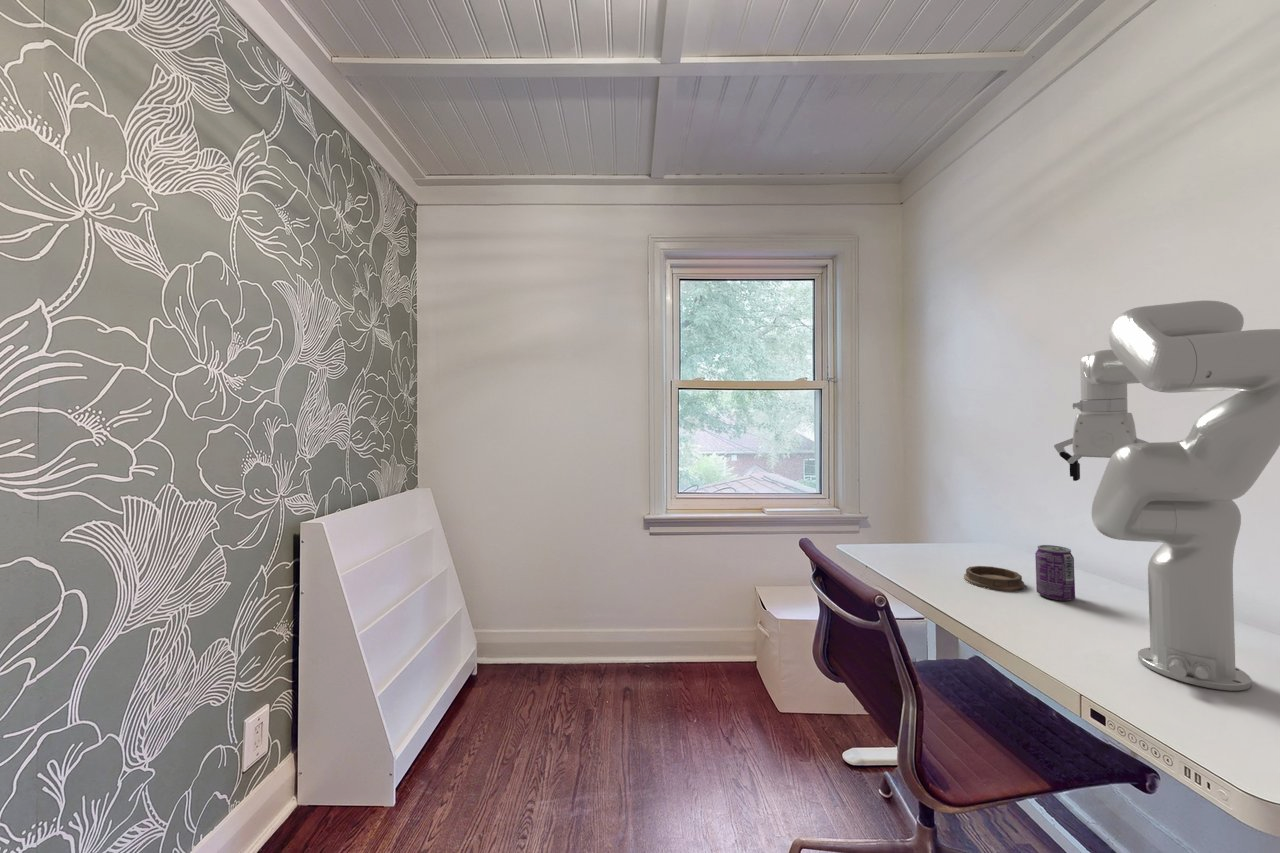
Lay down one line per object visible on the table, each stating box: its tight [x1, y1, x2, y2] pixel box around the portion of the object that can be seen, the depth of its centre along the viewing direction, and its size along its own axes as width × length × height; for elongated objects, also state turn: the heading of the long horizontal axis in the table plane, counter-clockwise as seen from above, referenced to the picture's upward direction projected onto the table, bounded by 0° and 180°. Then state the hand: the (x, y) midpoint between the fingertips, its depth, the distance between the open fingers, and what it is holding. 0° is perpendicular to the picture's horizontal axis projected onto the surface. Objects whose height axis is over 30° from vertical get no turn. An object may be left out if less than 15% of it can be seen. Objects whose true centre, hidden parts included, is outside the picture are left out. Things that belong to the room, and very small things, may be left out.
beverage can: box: [1034, 544, 1076, 602], centre depth 115 cm, size 7×7×12 cm
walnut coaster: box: [963, 565, 1025, 592], centre depth 126 cm, size 13×13×3 cm
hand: (1104, 481), depth 107 cm, fingers open, 9 cm apart
